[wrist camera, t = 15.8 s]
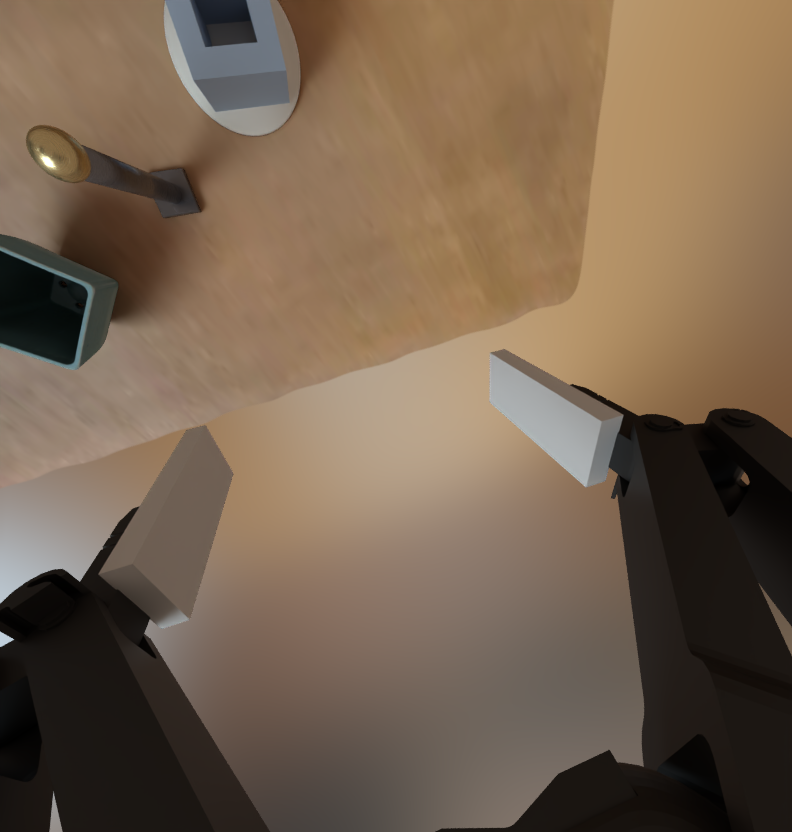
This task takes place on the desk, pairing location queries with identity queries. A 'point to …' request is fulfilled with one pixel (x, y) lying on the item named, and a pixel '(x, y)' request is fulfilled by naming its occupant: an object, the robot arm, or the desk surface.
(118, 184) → the gold-tipped post pair
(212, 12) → the hollow square tube
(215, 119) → the white round disc
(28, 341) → the flower pot
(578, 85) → the desk surface
